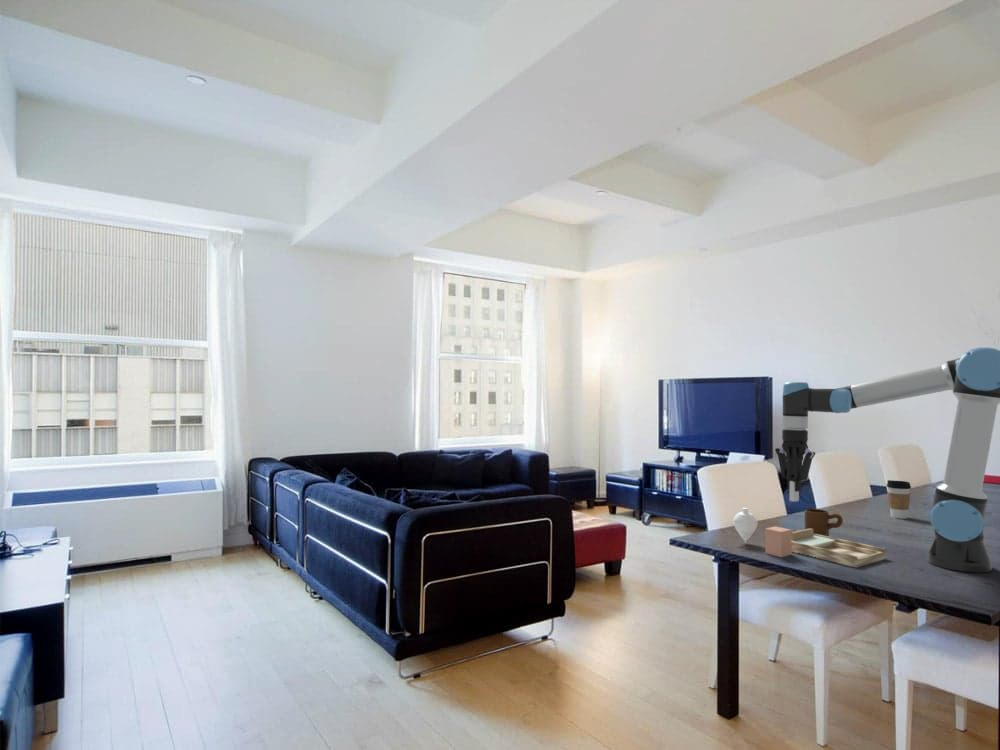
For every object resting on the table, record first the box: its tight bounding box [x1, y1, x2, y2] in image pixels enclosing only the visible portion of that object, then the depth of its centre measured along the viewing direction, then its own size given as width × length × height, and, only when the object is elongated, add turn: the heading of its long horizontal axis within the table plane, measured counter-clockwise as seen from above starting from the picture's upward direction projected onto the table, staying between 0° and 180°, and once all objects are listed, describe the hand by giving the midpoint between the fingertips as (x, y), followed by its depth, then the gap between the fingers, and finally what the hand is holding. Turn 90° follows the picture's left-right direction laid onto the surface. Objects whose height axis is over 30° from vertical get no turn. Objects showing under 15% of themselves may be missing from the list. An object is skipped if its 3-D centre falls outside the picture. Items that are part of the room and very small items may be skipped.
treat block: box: [764, 526, 793, 558], centre depth 190 cm, size 6×6×8 cm
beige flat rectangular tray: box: [791, 529, 887, 568], centre depth 192 cm, size 30×17×3 cm, turn 31°
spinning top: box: [732, 507, 758, 544], centre depth 203 cm, size 8×8×12 cm
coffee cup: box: [886, 479, 912, 520], centre depth 244 cm, size 8×8×15 cm
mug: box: [804, 508, 844, 537], centre depth 210 cm, size 12×8×9 cm, turn 51°
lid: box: [791, 528, 836, 547], centre depth 198 cm, size 14×15×3 cm
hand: (794, 500), depth 194 cm, fingers closed
